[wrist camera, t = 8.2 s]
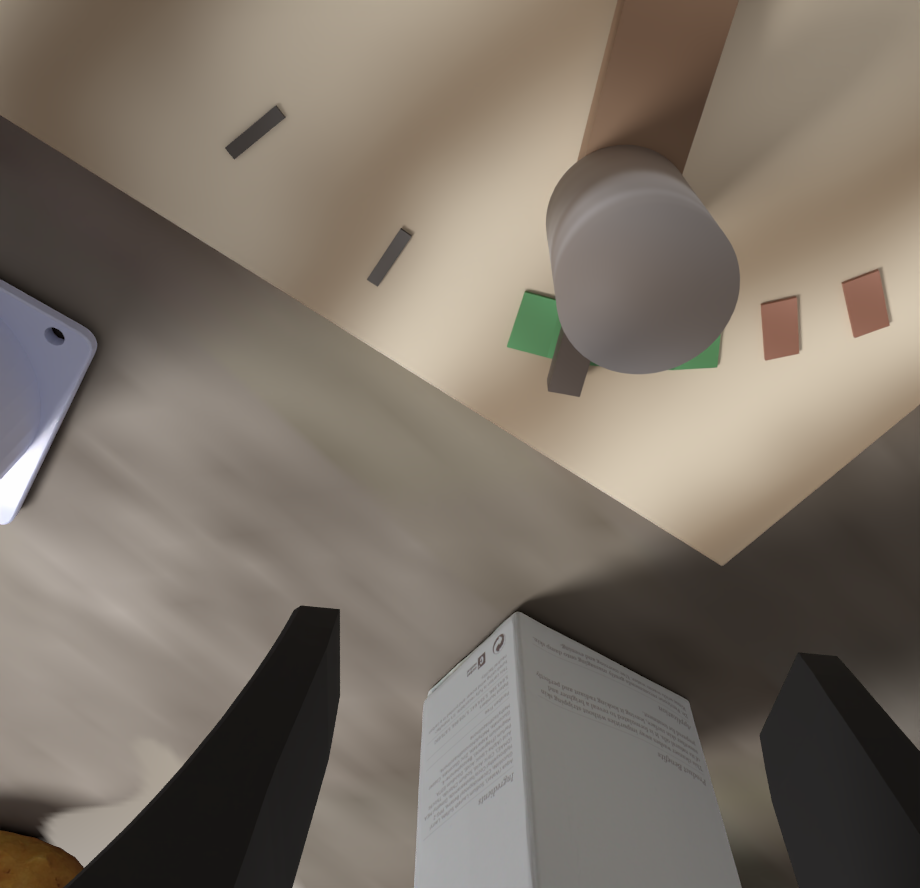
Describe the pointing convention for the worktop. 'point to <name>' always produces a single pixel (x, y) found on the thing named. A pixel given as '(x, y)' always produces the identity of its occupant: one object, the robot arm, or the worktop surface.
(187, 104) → the dial board
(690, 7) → the lever
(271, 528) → the worktop surface
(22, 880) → the potato
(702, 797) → the skincare box
